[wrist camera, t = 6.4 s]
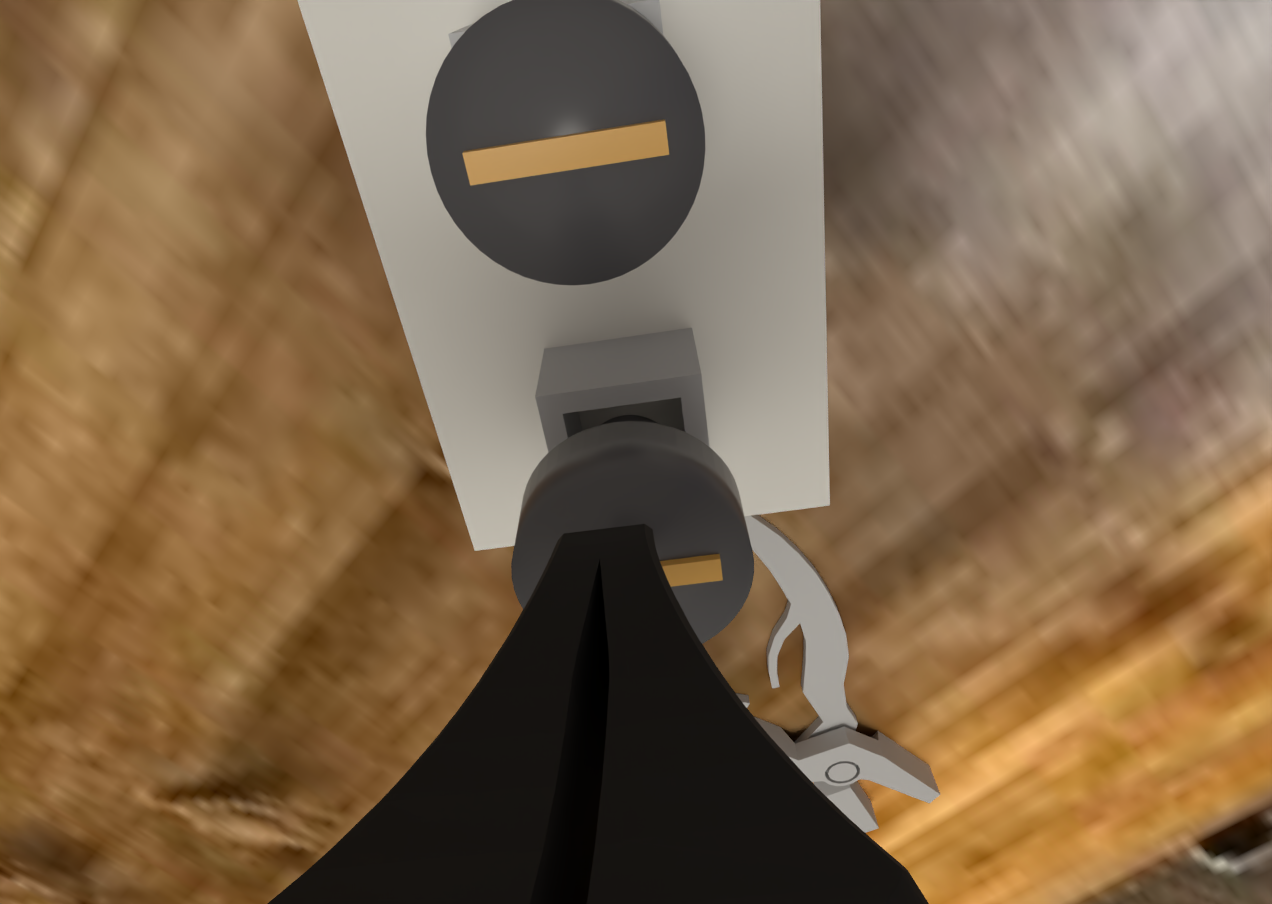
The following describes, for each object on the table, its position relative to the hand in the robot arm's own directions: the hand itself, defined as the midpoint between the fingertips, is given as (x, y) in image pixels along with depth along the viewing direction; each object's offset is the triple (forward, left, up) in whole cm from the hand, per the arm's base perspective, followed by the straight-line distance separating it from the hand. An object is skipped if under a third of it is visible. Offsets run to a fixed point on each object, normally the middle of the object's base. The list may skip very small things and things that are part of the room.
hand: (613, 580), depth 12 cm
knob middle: (0, -5, -8) cm, 10 cm away
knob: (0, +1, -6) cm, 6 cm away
